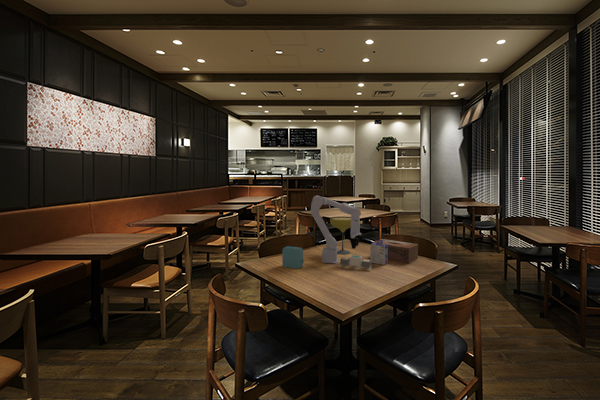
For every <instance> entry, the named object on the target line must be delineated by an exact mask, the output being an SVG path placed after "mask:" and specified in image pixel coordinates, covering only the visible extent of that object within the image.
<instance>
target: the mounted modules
mask: <svg viewBox="0 0 600 400" xmlns="http://www.w3.org/2000/svg"><path fill="white" fill-rule="evenodd" d="M349 263H350V257H345V256H342V257H341V258H340V259H339V264H343V265H349ZM371 265H372V263H371V260H370V259H364V258H363V259H361V266H362V267H370V266H371Z"/></svg>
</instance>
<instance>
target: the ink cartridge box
mask: <svg viewBox="0 0 600 400" xmlns="http://www.w3.org/2000/svg"><path fill="white" fill-rule="evenodd" d="M376 241H377V243H372V242H371V244H370V256H369V258H370V259H369V260H371V264H372V263H373V264H377V265H383V266H385V265H388V261H389V259H388V244H382V243H383V240H381V239H377V240H376ZM378 241H381V242H378Z"/></svg>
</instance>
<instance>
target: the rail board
mask: <svg viewBox="0 0 600 400" xmlns="http://www.w3.org/2000/svg"><path fill="white" fill-rule="evenodd" d="M371 265H372V267H371V268H362V267H353V266H344V265H338V268H339V269H348V270H357V271H366V272H370V271H372V268H373V264H371Z"/></svg>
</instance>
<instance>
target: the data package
mask: <svg viewBox="0 0 600 400" xmlns="http://www.w3.org/2000/svg"><path fill="white" fill-rule="evenodd" d="M281 252H282V255H281V256H282V267H284V268H291V269H299V270H300V269H301V268H302V267H303V266H304V249H303V247H300V246H299V247H298V246H290V245H289V246H288V245H287V246H285V247H283V248H282V251H281Z"/></svg>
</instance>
